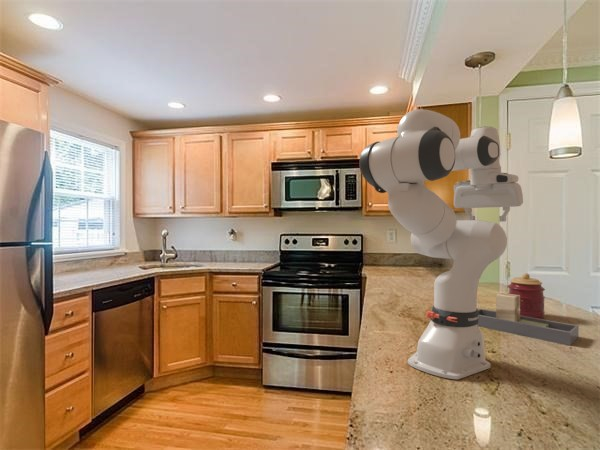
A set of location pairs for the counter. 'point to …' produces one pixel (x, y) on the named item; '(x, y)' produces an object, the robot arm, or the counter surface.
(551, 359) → the counter surface
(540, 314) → the canister
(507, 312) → the block
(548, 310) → the counter surface
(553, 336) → the box
